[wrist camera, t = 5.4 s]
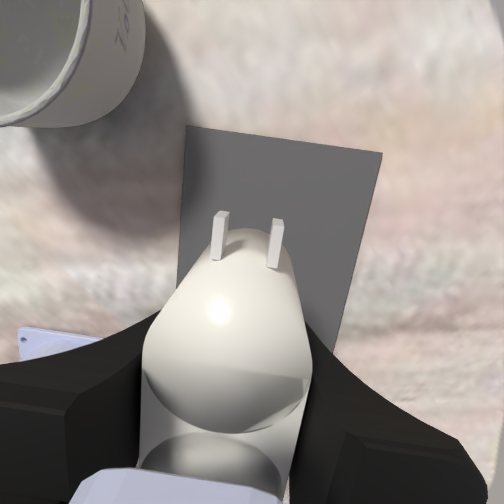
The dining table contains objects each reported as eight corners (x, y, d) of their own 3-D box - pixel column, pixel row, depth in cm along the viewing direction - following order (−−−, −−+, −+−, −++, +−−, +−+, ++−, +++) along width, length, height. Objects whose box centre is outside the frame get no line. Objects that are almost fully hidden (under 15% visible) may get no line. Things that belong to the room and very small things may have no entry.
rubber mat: (327, 369, 23) (327, 372, 23) (173, 346, 24) (172, 348, 23) (381, 152, 19) (382, 152, 18) (187, 125, 19) (186, 125, 18)
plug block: (271, 395, 15) (271, 547, 9) (188, 382, 15) (137, 526, 9) (306, 208, 12) (339, 255, 6) (205, 194, 12) (146, 227, 6)
